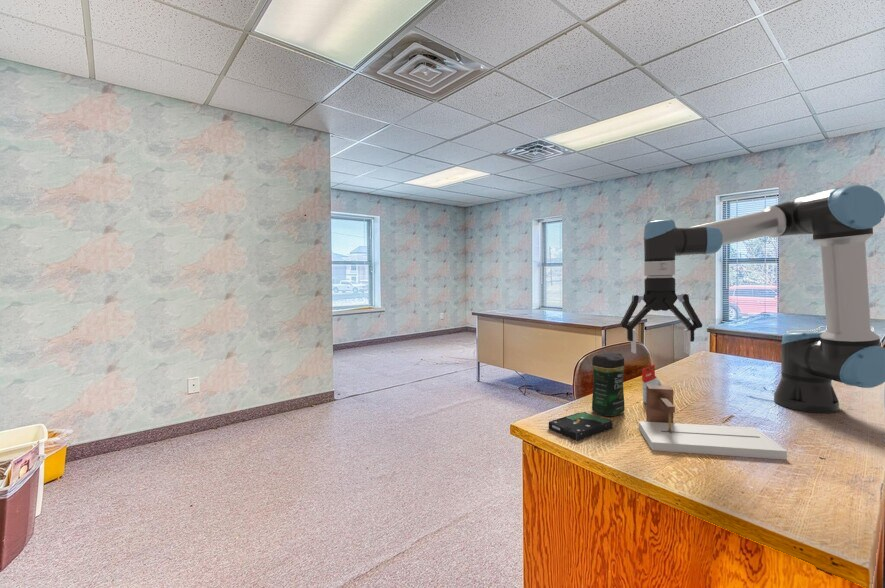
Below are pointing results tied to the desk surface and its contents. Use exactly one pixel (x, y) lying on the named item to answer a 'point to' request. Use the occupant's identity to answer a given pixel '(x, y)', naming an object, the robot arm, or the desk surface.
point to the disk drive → (580, 425)
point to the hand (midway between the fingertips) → (660, 353)
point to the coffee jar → (608, 384)
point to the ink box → (649, 379)
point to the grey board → (710, 440)
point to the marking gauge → (659, 404)
